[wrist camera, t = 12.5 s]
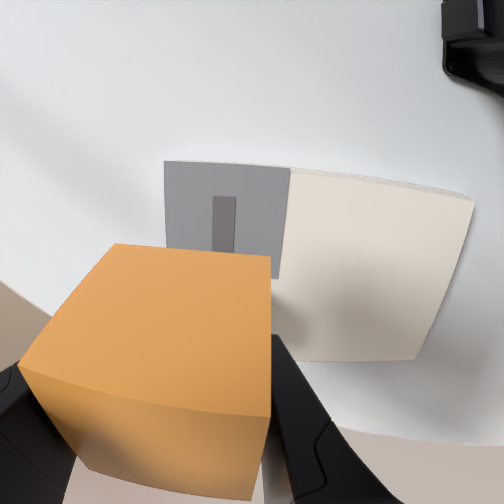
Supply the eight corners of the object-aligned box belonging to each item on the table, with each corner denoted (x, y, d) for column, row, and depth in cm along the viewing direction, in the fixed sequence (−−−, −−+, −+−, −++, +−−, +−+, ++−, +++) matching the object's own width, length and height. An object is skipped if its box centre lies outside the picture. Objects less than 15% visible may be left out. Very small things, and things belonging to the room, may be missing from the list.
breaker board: (464, 190, 17) (481, 201, 15) (409, 347, 23) (416, 365, 21) (172, 155, 17) (160, 163, 15) (180, 336, 23) (174, 355, 21)
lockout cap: (270, 256, 9) (271, 416, 4) (257, 369, 11) (250, 500, 6) (114, 243, 9) (17, 364, 4) (135, 353, 11) (89, 469, 6)
